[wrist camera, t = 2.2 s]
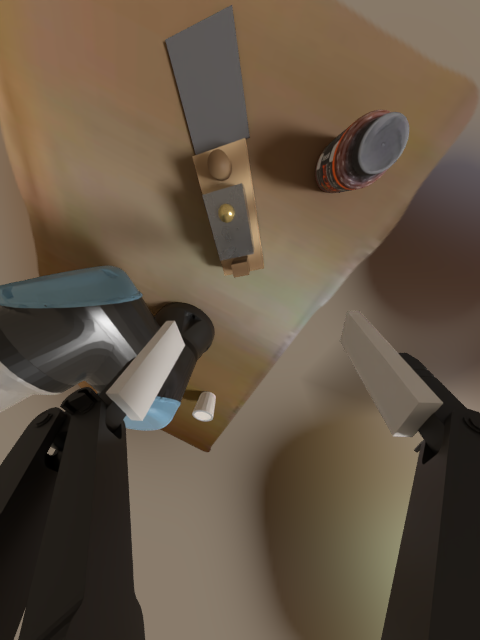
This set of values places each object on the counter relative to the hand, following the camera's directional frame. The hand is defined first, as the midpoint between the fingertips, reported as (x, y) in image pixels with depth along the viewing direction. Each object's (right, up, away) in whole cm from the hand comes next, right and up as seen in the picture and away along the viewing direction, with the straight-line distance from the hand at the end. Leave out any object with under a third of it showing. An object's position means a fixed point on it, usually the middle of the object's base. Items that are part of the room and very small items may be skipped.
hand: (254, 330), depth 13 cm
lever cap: (-2, +15, +12) cm, 20 cm away
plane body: (-2, +18, +16) cm, 24 cm away
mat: (-5, +30, +8) cm, 31 cm away
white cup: (-13, -26, +47) cm, 55 cm away
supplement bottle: (+13, +23, +11) cm, 28 cm away
